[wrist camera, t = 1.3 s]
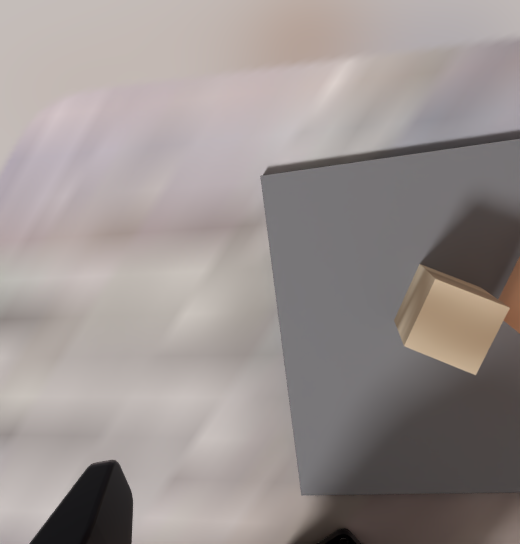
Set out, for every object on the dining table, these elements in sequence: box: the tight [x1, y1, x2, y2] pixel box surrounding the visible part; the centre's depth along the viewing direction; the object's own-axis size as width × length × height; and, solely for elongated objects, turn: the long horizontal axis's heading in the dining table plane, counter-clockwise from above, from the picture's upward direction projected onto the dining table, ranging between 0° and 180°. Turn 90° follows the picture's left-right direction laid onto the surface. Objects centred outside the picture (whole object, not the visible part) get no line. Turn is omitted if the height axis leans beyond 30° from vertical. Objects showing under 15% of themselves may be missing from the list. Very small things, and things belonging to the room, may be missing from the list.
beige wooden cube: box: [394, 264, 510, 375], centre depth 21 cm, size 3×3×4 cm
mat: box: [260, 139, 520, 495], centre depth 23 cm, size 22×17×1 cm
